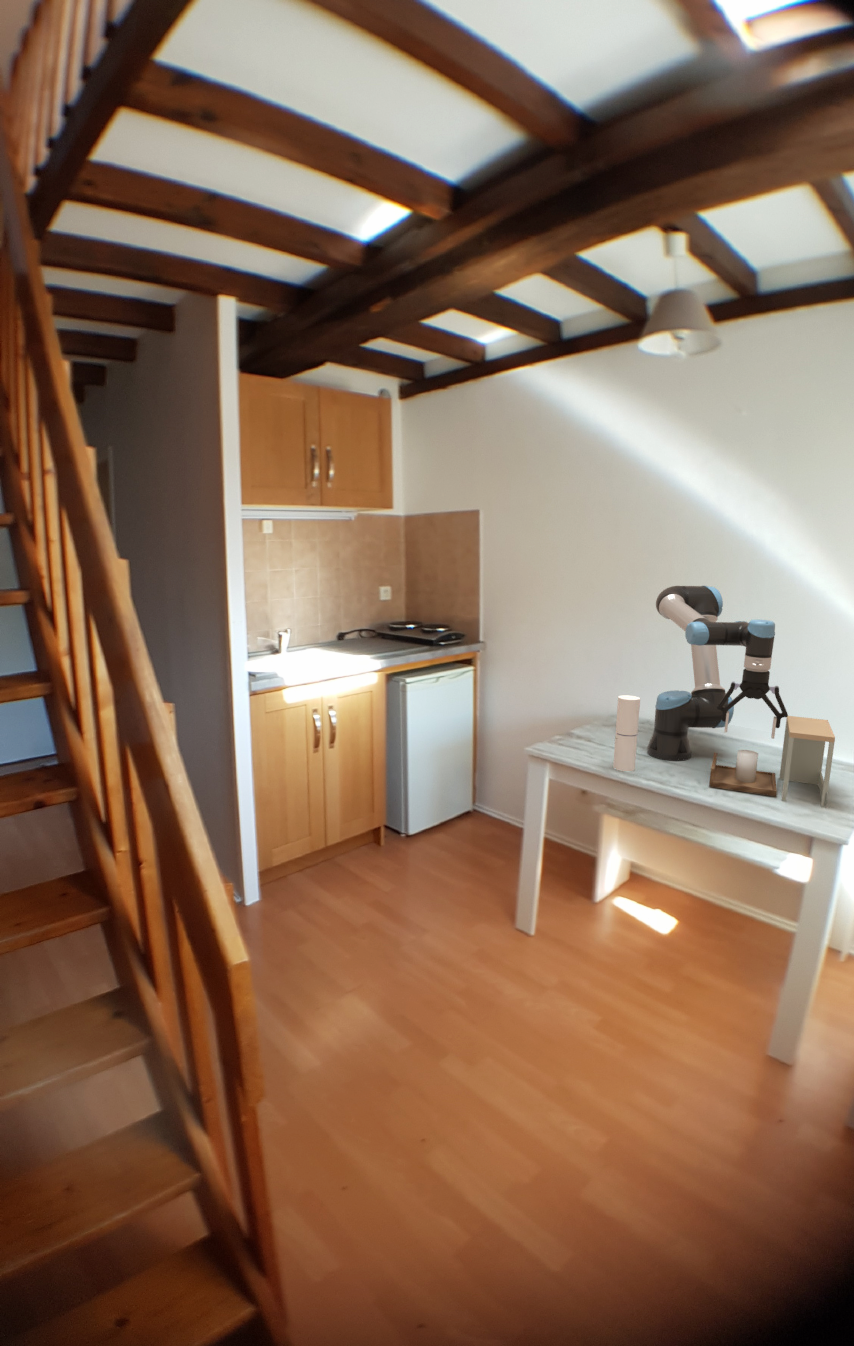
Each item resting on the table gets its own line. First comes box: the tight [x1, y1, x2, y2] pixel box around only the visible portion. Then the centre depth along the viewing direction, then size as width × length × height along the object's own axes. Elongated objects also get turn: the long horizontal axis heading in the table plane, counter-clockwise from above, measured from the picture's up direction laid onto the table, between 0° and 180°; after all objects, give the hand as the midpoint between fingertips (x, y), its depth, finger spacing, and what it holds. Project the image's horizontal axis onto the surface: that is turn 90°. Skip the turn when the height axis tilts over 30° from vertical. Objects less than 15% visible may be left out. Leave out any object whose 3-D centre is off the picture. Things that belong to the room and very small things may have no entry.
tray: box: [708, 752, 778, 797], centre depth 218 cm, size 19×19×6 cm
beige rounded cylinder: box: [735, 749, 759, 783], centre depth 217 cm, size 6×6×9 cm
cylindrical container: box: [612, 694, 641, 772], centre depth 229 cm, size 7×7×25 cm
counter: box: [778, 715, 836, 809], centre depth 210 cm, size 12×22×22 cm, turn 154°
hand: (748, 734), depth 215 cm, fingers open, 13 cm apart
